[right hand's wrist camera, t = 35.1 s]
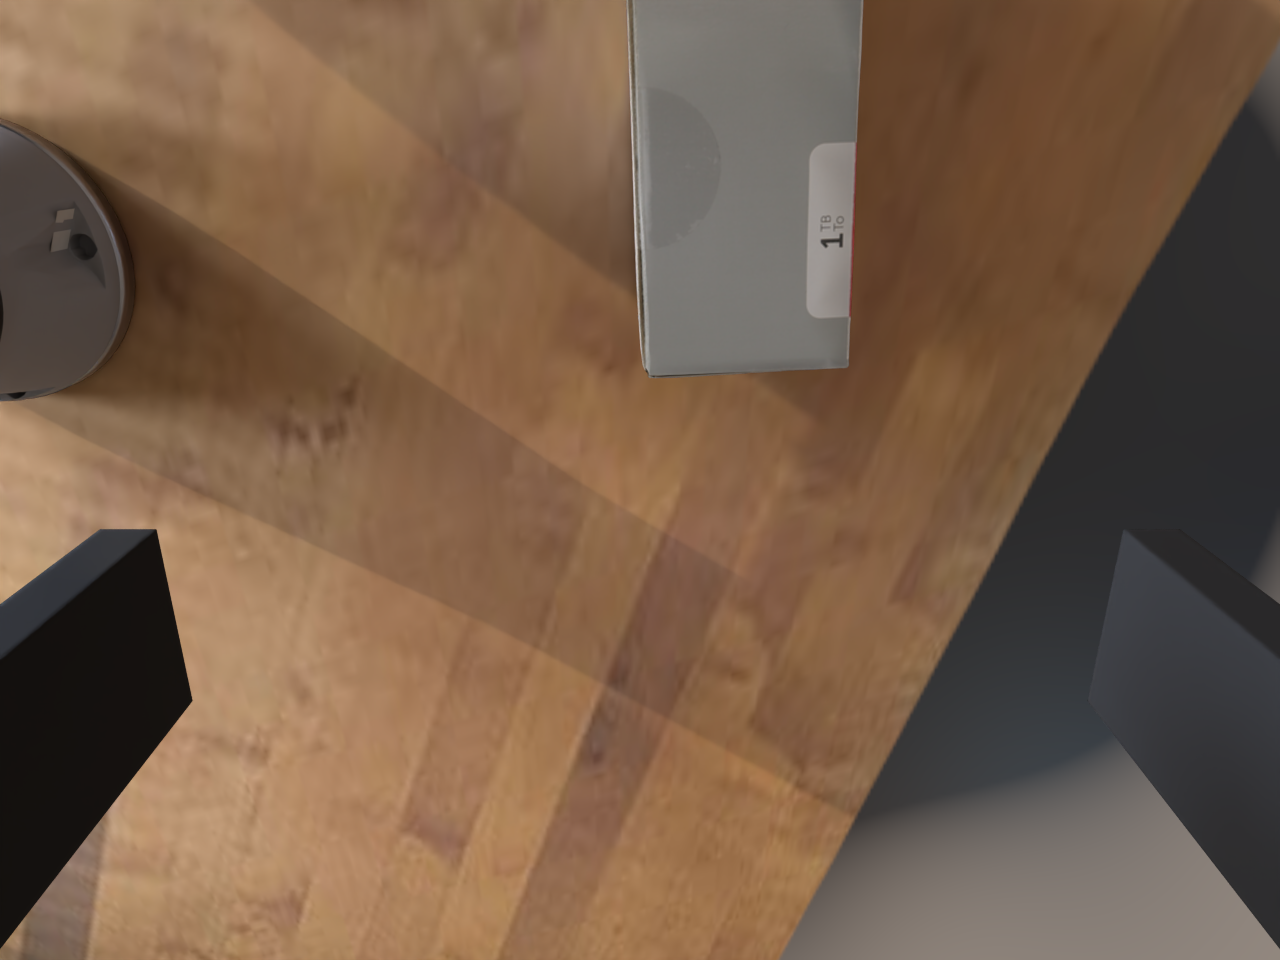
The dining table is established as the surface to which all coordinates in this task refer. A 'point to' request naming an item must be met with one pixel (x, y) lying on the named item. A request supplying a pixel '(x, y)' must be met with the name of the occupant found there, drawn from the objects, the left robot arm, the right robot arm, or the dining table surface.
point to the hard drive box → (744, 182)
